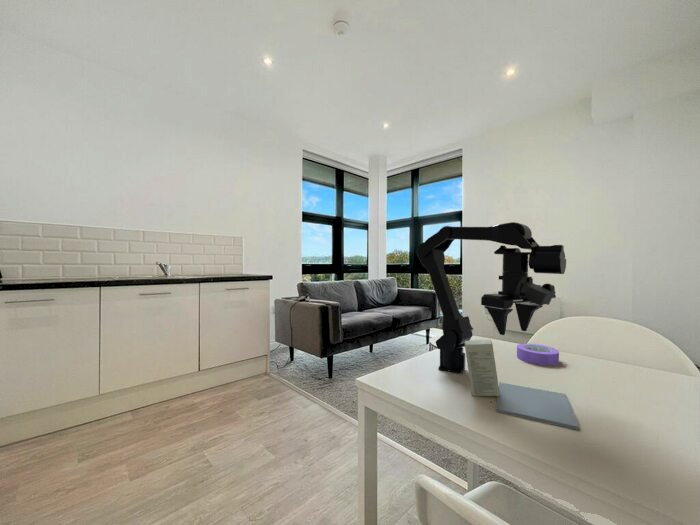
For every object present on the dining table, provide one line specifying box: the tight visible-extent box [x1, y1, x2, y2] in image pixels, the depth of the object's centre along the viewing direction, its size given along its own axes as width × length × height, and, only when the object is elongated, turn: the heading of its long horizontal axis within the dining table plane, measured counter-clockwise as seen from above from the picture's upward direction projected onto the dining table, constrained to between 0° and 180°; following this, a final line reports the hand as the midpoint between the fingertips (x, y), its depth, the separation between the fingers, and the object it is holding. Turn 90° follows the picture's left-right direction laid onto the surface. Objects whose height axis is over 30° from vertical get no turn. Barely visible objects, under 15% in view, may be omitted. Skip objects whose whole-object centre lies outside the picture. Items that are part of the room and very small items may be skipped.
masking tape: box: [516, 343, 560, 366], centre depth 96 cm, size 12×12×4 cm
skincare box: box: [464, 339, 500, 397], centre depth 71 cm, size 6×4×12 cm
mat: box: [495, 381, 580, 431], centre depth 66 cm, size 14×16×1 cm
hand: (513, 332), depth 75 cm, fingers open, 9 cm apart
